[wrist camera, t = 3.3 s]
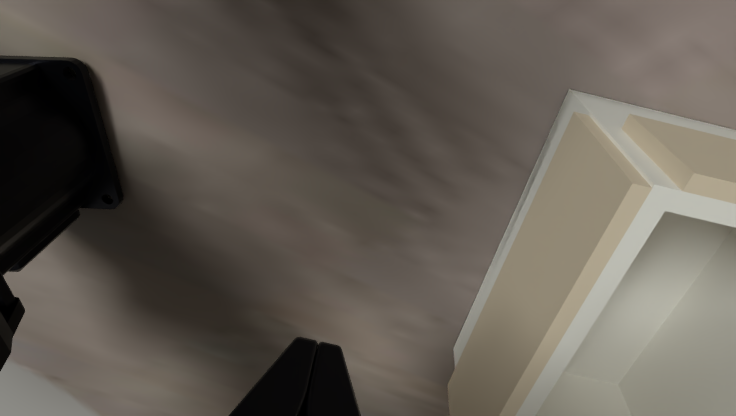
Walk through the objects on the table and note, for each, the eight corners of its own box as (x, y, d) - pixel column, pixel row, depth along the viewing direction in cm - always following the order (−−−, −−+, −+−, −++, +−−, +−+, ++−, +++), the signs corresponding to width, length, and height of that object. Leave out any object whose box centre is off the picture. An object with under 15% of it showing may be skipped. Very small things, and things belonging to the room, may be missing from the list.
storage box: (440, 353, 26) (450, 499, 19) (561, 72, 18) (645, 161, 11) (614, 390, 26) (681, 547, 20) (805, 132, 18) (1017, 251, 12)
